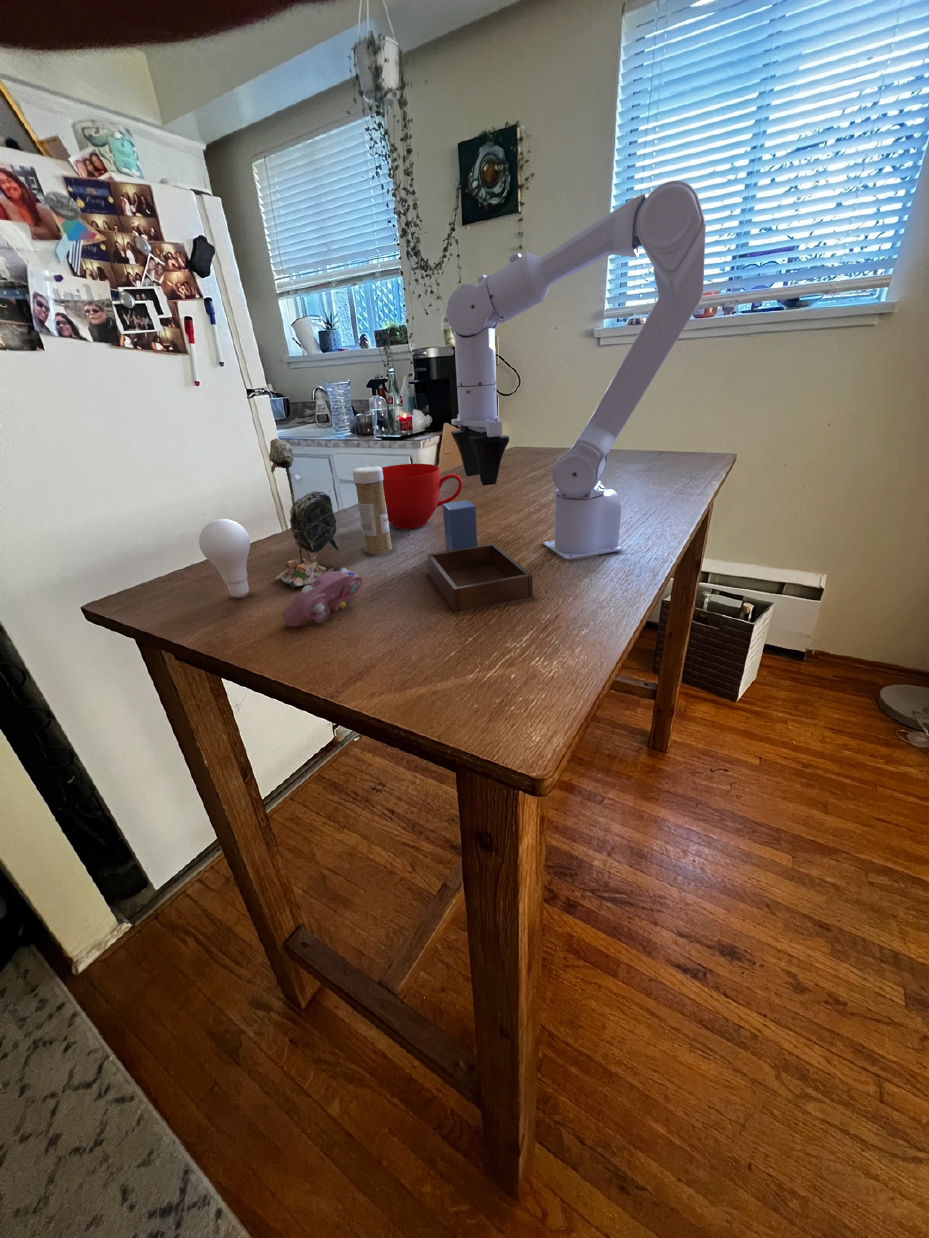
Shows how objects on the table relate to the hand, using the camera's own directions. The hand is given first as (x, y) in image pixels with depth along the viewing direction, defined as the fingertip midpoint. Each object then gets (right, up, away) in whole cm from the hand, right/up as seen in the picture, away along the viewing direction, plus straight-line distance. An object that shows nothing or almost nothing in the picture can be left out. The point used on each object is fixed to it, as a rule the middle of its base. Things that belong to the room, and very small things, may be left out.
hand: (480, 479), depth 79 cm
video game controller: (-20, -22, -16) cm, 34 cm away
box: (-1, -18, -11) cm, 21 cm away
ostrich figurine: (-25, -16, -4) cm, 30 cm away
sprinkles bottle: (-17, -11, +4) cm, 20 cm away
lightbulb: (-34, -19, -10) cm, 40 cm away
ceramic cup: (-11, -4, +17) cm, 20 cm away
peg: (-3, -12, 0) cm, 12 cm away
